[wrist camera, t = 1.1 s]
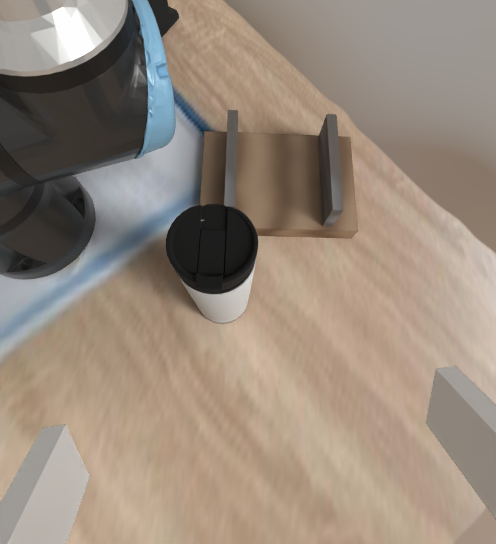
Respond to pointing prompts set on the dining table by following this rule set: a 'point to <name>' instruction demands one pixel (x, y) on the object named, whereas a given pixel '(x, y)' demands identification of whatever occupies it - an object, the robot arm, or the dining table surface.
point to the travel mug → (214, 258)
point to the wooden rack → (283, 180)
